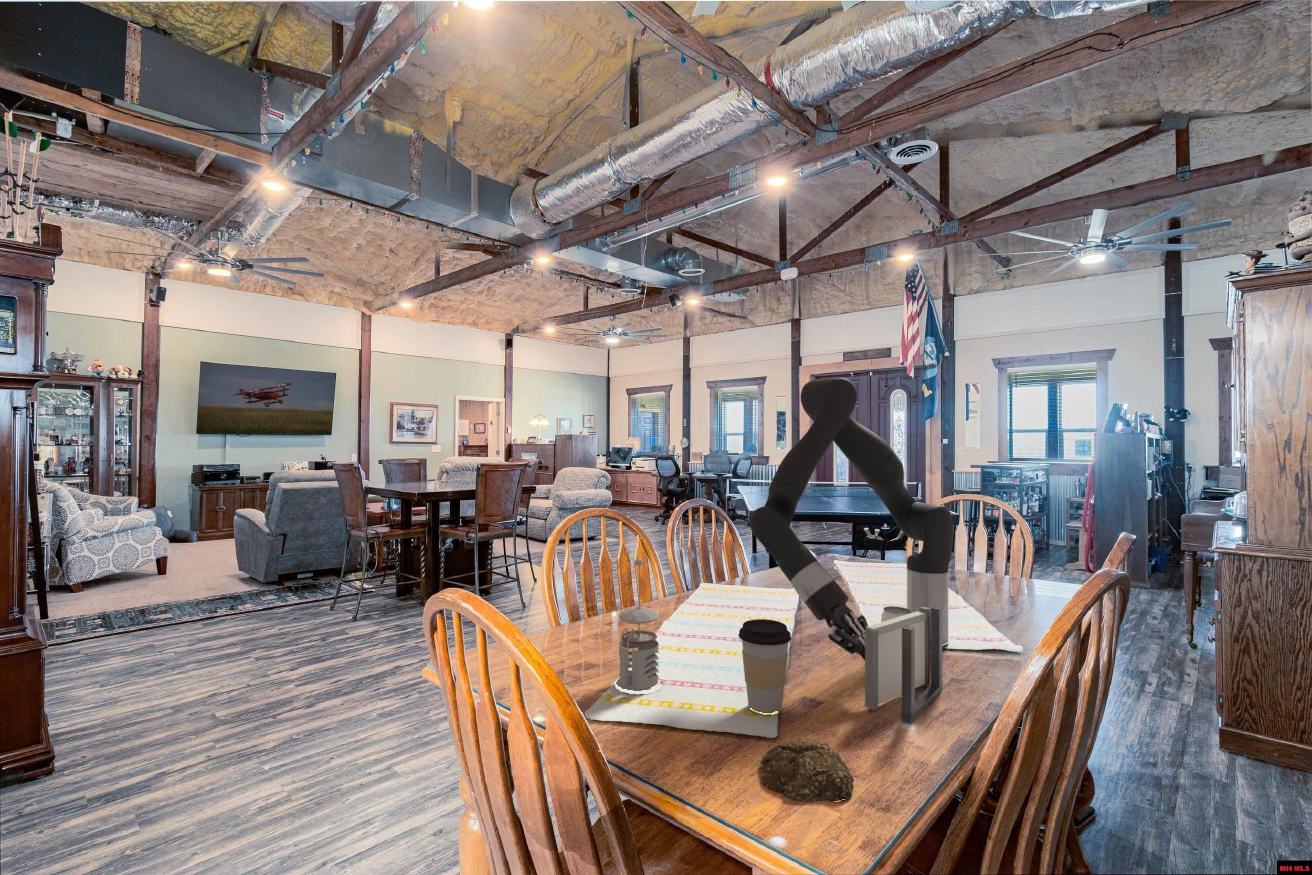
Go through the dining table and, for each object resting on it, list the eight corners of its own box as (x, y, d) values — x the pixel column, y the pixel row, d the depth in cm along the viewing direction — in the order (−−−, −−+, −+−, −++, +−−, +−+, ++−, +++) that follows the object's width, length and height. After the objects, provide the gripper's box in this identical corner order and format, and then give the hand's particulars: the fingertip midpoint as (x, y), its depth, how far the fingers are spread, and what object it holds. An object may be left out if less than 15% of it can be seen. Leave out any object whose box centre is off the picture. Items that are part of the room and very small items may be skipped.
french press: (671, 679, 122) (671, 556, 122) (646, 702, 111) (646, 567, 111) (628, 671, 126) (628, 552, 126) (600, 693, 115) (600, 562, 115)
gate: (922, 681, 120) (922, 606, 120) (932, 684, 118) (932, 608, 119) (864, 706, 109) (864, 623, 109) (873, 710, 107) (873, 626, 107)
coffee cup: (793, 701, 112) (794, 620, 112) (787, 723, 103) (788, 636, 103) (743, 694, 115) (743, 615, 115) (733, 715, 106) (733, 630, 106)
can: (916, 672, 126) (916, 614, 126) (883, 669, 127) (884, 613, 127) (909, 661, 132) (910, 606, 133) (878, 658, 134) (879, 604, 134)
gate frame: (933, 686, 119) (934, 605, 119) (942, 688, 118) (942, 607, 118) (901, 720, 104) (901, 628, 104) (910, 723, 103) (910, 630, 103)
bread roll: (833, 755, 93) (833, 723, 93) (864, 804, 81) (864, 766, 81) (751, 757, 93) (751, 725, 93) (769, 806, 80) (769, 768, 80)
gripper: (816, 585, 113) (880, 667, 105) (845, 573, 123) (906, 647, 115) (790, 607, 117) (850, 688, 109) (821, 594, 127) (878, 668, 119)
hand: (879, 667), depth 112 cm, fingers closed
